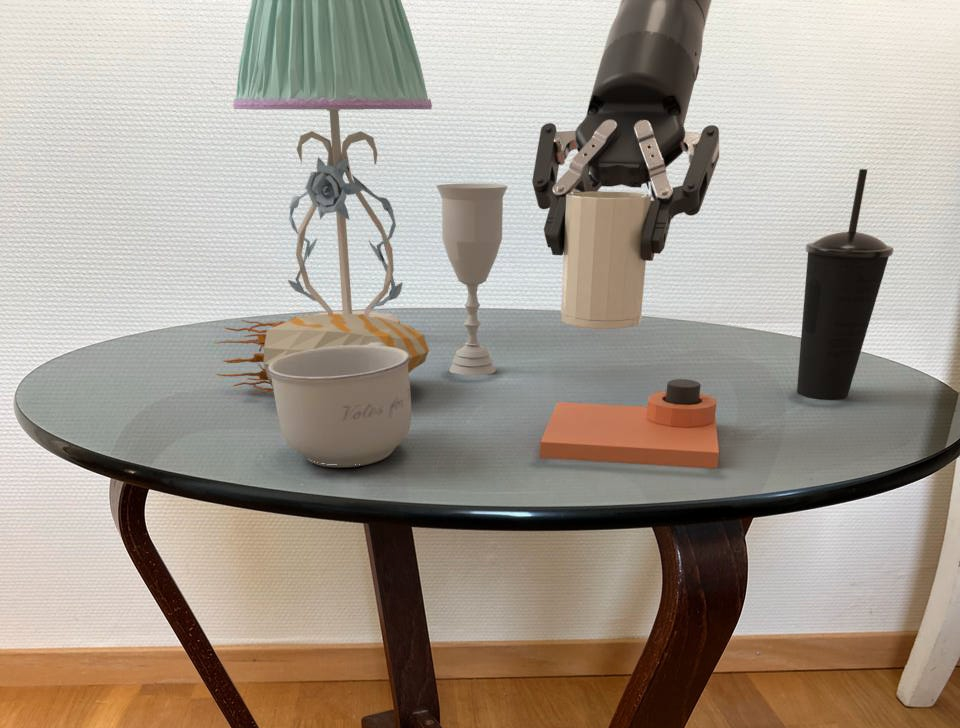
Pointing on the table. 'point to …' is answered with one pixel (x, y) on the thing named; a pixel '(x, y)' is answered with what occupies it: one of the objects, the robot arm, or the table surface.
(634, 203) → the cup
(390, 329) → the nautilus
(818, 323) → the drinking cup
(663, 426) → the scale
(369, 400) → the teacup
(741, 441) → the table surface
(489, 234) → the chalice
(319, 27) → the table lamp
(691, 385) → the button
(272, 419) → the table surface
